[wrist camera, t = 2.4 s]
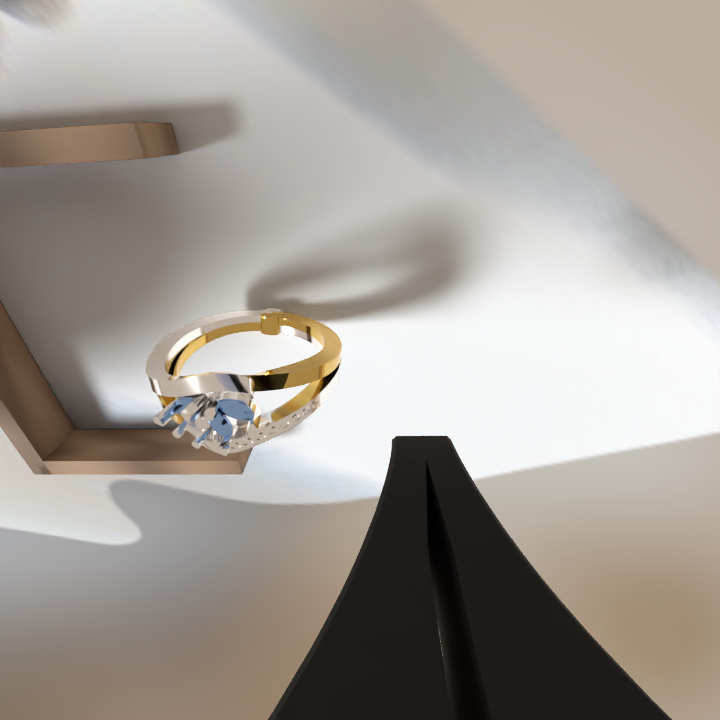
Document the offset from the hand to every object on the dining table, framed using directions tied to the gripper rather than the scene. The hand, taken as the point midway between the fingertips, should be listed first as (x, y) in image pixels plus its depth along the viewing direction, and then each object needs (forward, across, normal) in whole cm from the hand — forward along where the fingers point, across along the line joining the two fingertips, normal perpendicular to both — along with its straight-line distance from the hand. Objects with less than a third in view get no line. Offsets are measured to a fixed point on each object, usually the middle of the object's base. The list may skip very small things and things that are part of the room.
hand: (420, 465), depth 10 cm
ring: (+10, +6, 0) cm, 11 cm away
